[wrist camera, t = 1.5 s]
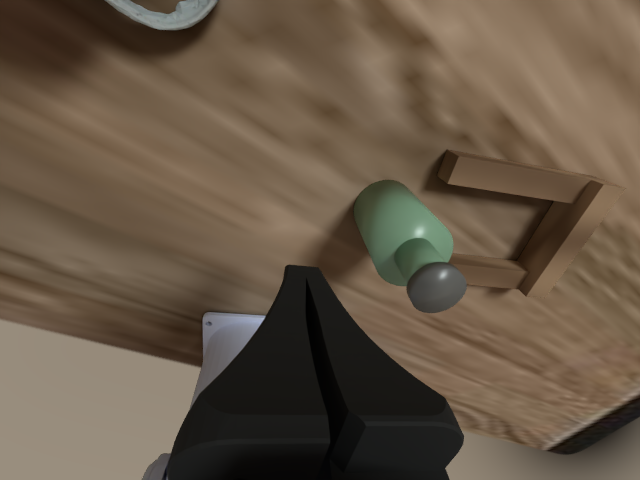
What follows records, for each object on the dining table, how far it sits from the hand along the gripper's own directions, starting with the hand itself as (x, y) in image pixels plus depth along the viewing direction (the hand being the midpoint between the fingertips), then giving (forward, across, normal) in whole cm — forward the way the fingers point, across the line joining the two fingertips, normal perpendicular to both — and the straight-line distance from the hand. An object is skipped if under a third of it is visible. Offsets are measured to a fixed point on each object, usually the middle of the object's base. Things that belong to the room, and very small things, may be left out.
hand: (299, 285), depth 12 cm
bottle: (+10, -6, 0) cm, 12 cm away
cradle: (+10, -14, 0) cm, 17 cm away
